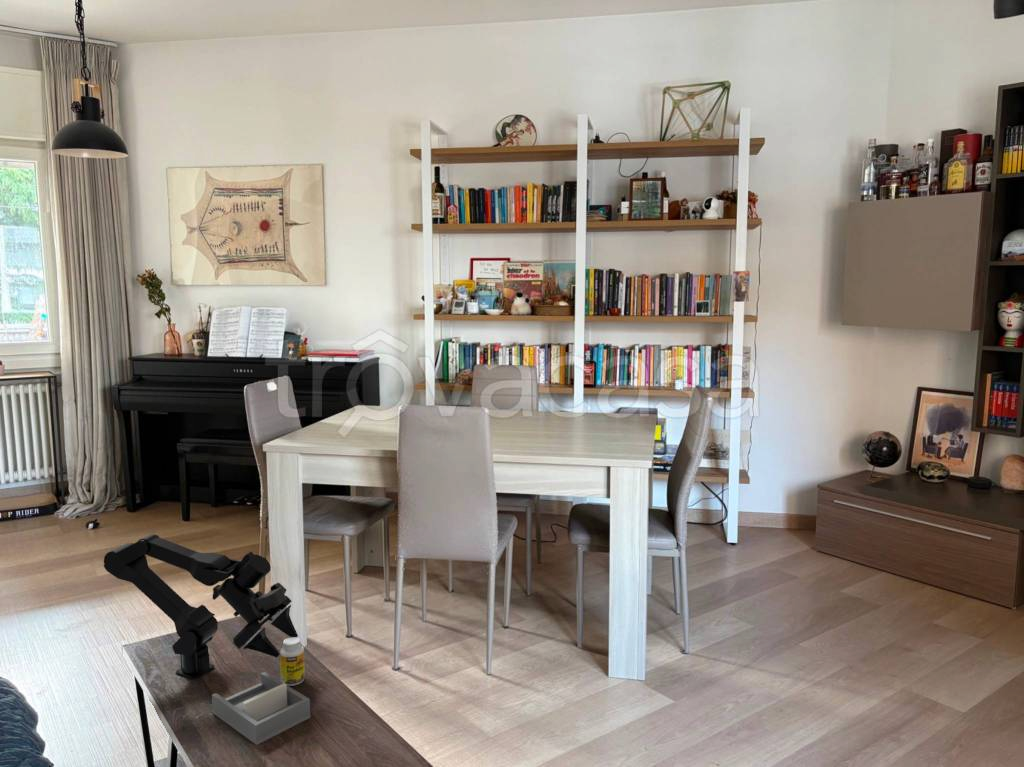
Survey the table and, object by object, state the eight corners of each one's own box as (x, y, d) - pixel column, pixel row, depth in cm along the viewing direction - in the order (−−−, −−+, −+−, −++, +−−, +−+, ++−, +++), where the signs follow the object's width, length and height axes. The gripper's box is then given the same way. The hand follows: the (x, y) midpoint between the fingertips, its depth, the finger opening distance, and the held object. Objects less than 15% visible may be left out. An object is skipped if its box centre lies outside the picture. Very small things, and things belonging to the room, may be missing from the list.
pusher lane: (212, 713, 165) (211, 694, 165) (265, 689, 175) (264, 671, 174) (256, 745, 154) (255, 725, 153) (310, 717, 163) (309, 699, 163)
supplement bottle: (284, 689, 175) (283, 648, 173) (278, 679, 179) (276, 639, 178) (308, 682, 178) (306, 642, 177) (300, 672, 182) (299, 633, 181)
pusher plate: (243, 724, 159) (242, 702, 159) (284, 704, 167) (283, 683, 166) (246, 725, 159) (245, 703, 158) (287, 705, 166) (286, 684, 166)
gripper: (242, 593, 167) (290, 644, 167) (282, 563, 186) (325, 609, 185) (212, 624, 170) (259, 674, 169) (255, 591, 188) (297, 636, 187)
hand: (287, 646), depth 178 cm, fingers open, 9 cm apart
